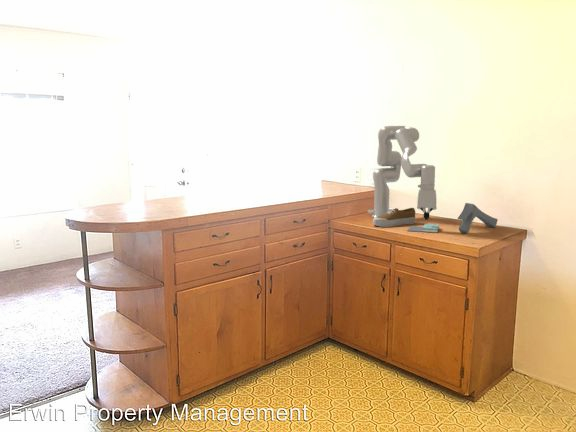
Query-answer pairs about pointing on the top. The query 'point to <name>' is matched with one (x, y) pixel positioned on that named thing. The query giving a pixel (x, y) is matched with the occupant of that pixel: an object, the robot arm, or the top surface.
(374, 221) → the sneaker
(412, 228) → the mat
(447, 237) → the top surface
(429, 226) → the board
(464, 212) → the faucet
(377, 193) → the robot arm
